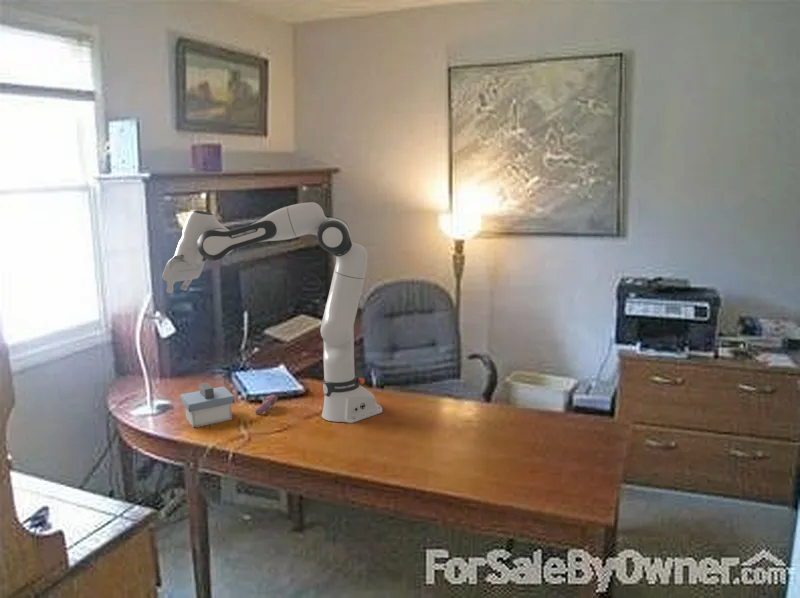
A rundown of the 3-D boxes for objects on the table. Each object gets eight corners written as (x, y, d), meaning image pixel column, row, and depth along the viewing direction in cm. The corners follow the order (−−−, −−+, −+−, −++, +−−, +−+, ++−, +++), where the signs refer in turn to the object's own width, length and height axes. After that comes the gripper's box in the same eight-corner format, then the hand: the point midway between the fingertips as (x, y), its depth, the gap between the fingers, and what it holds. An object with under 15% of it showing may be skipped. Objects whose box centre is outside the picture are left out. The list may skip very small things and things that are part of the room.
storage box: (223, 410, 242) (222, 390, 241) (232, 419, 233) (230, 398, 231) (185, 418, 235) (184, 397, 234) (193, 428, 226) (191, 406, 224)
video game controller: (264, 419, 237) (271, 403, 235) (253, 413, 237) (260, 398, 235) (274, 409, 246) (281, 394, 244) (264, 404, 246) (270, 389, 245)
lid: (224, 393, 242) (223, 377, 241) (234, 402, 231) (233, 386, 230) (180, 401, 234) (179, 385, 233) (189, 412, 223) (187, 395, 222)
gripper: (181, 259, 211) (168, 297, 213) (210, 256, 231) (198, 291, 233) (164, 252, 212) (152, 290, 214) (195, 250, 232) (183, 285, 234)
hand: (176, 291), depth 224 cm, fingers open, 8 cm apart
